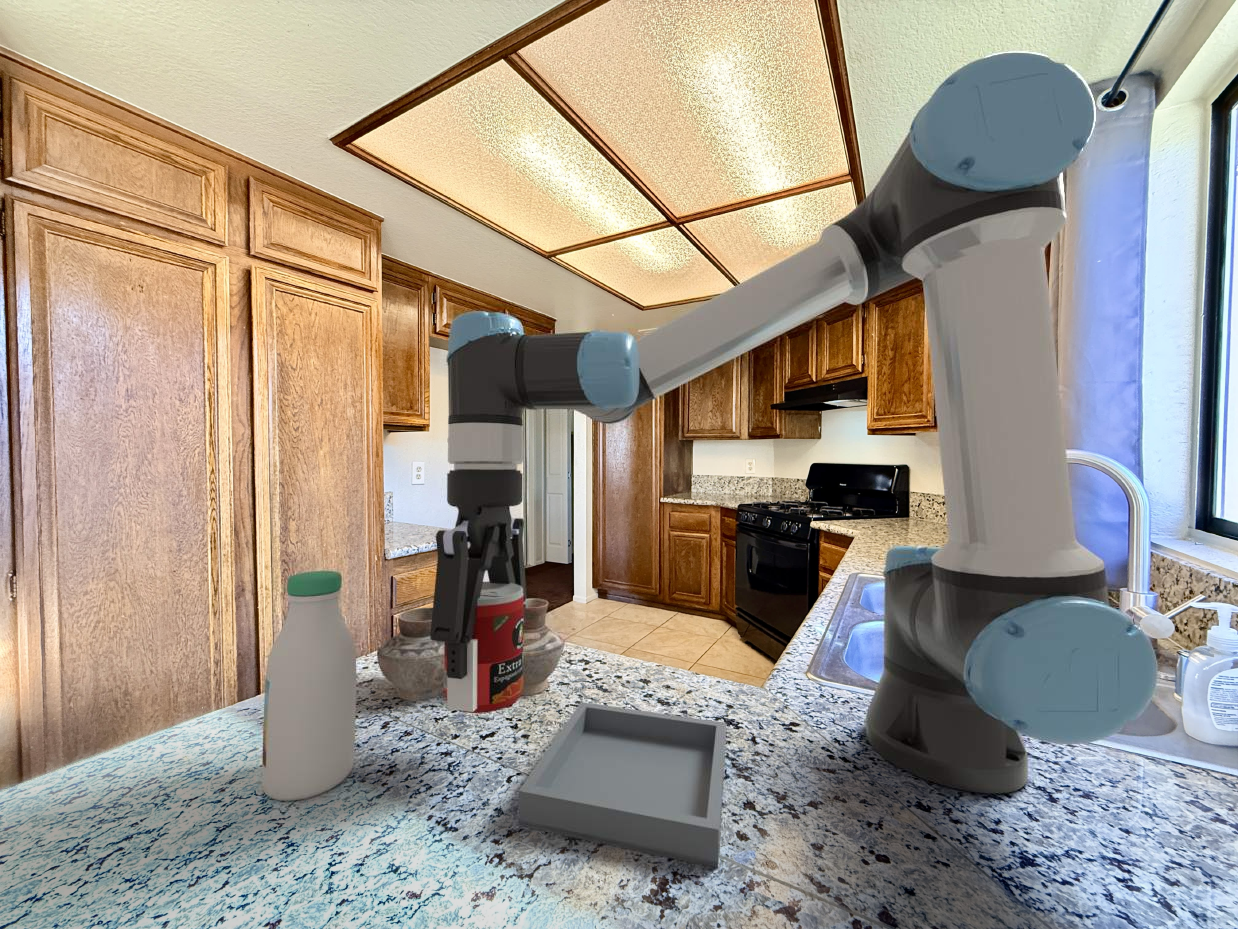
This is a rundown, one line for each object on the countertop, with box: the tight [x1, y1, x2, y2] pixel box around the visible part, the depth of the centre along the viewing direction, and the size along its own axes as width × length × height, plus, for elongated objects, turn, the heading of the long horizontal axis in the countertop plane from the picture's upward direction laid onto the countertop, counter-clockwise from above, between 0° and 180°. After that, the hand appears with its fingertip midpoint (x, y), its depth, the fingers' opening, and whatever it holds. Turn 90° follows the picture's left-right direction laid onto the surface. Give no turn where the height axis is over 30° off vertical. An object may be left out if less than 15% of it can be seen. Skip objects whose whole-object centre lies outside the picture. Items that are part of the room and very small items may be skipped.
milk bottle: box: [261, 570, 357, 802], centre depth 49 cm, size 8×8×20 cm
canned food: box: [443, 581, 524, 714], centre depth 51 cm, size 8×8×11 cm
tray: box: [517, 701, 727, 869], centre depth 49 cm, size 17×17×3 cm
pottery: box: [376, 597, 566, 702], centre depth 69 cm, size 11×25×12 cm, turn 99°
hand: (484, 689), depth 51 cm, fingers closed on canned food, 8 cm apart
